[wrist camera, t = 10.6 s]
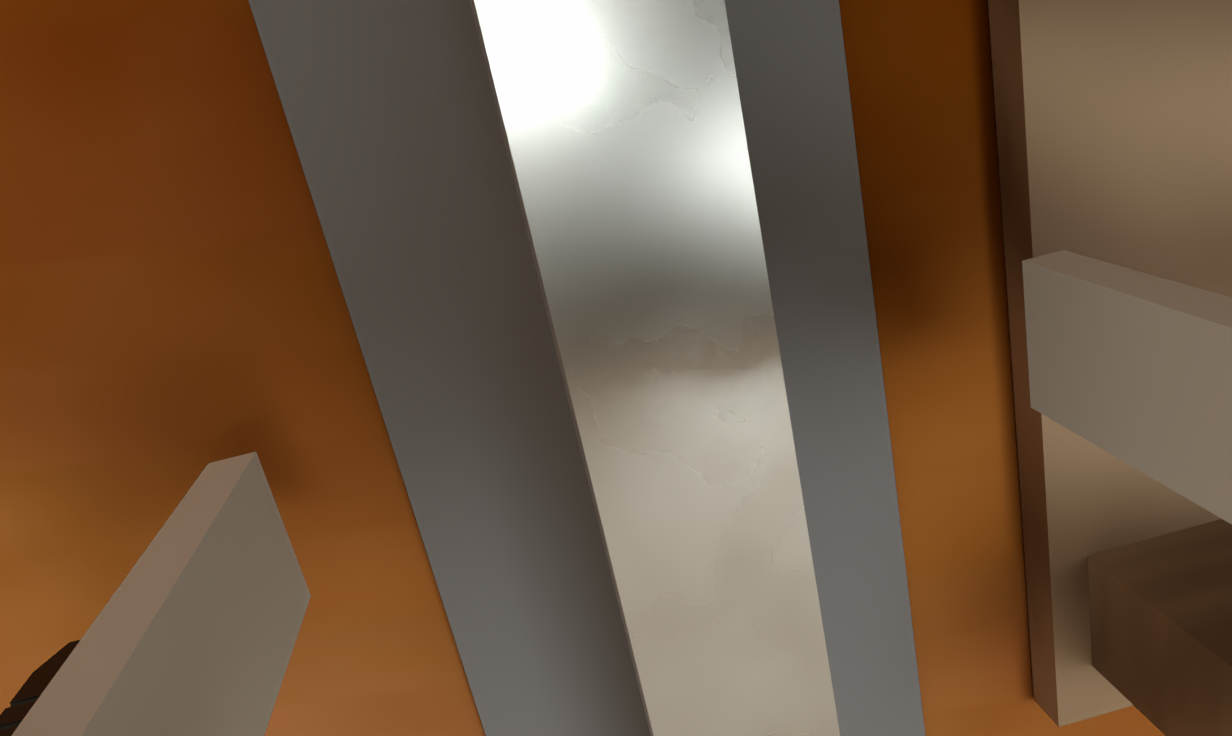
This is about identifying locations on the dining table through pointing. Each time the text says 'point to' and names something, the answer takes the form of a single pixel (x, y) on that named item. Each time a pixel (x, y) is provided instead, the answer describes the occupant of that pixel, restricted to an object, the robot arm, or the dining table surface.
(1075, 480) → the stand
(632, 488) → the rail
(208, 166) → the dining table surface
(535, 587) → the mat
